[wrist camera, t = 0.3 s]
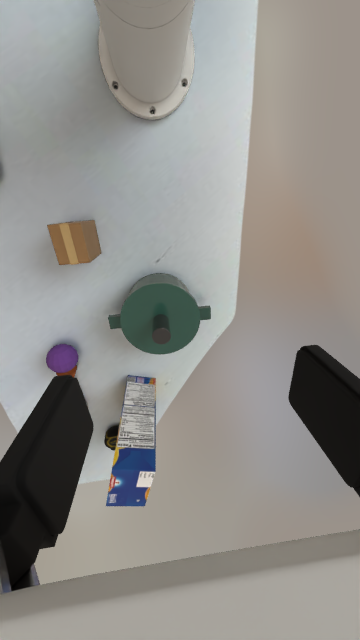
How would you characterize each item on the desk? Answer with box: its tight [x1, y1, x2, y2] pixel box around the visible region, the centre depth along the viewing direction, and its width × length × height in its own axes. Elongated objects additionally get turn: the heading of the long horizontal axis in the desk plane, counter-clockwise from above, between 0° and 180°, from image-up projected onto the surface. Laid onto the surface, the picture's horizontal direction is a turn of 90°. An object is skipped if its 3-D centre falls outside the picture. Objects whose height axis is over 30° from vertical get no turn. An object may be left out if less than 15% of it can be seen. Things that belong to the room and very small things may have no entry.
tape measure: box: [105, 426, 119, 450], centre depth 61 cm, size 7×7×4 cm
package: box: [47, 220, 101, 265], centre depth 36 cm, size 6×5×8 cm
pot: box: [108, 273, 211, 329], centre depth 43 cm, size 13×19×8 cm
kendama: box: [46, 344, 78, 378], centre depth 50 cm, size 6×6×20 cm
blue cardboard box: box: [106, 375, 156, 506], centre depth 47 cm, size 7×11×22 cm, turn 167°
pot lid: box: [120, 282, 200, 354], centre depth 37 cm, size 14×14×6 cm
